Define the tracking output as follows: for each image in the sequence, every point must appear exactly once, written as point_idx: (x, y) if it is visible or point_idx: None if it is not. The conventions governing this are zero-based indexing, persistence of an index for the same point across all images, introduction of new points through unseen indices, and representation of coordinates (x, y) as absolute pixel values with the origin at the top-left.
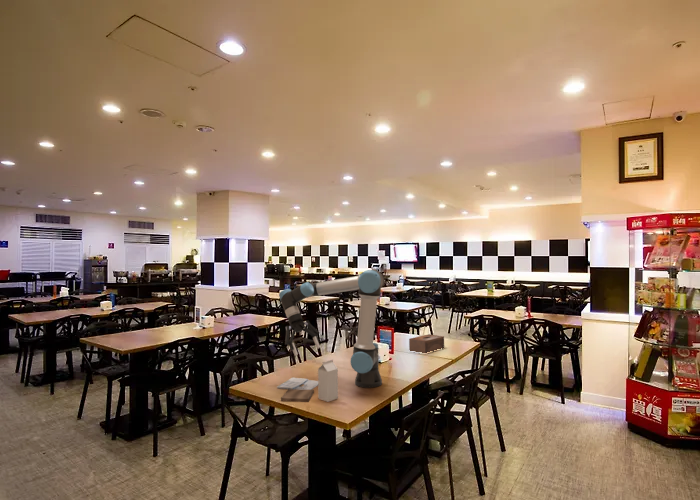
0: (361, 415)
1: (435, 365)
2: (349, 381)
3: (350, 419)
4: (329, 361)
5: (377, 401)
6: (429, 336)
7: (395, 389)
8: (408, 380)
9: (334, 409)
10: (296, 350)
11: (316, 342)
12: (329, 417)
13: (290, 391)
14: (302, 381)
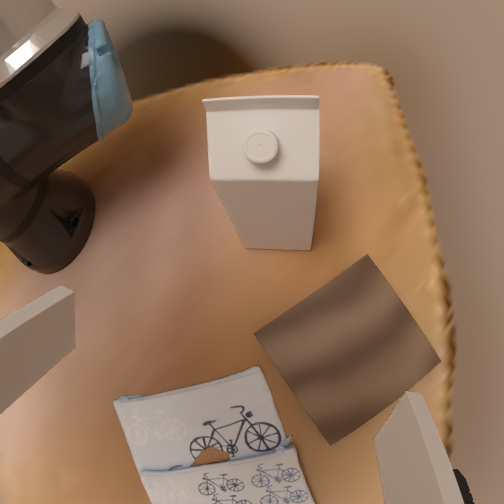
0: (318, 64)
1: None
2: None
3: (359, 69)
4: (242, 101)
5: (195, 92)
6: None
7: None
8: None
9: (345, 132)
10: (420, 429)
11: (22, 339)
12: (397, 109)
13: (350, 408)
14: (181, 476)
